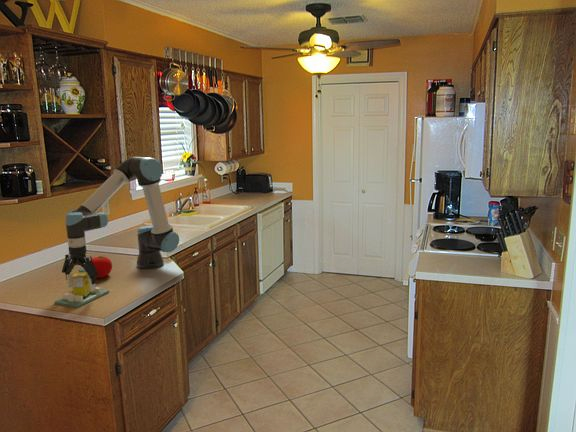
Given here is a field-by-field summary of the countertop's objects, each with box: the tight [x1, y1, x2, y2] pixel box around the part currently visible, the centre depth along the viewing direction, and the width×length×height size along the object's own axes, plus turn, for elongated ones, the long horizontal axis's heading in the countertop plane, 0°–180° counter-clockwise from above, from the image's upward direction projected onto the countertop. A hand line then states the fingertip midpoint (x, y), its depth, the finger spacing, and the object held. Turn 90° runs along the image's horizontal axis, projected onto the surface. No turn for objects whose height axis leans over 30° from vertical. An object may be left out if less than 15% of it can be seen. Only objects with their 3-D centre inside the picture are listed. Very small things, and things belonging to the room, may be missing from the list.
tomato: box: [92, 255, 113, 279], centre depth 252 cm, size 12×14×12 cm
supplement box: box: [71, 271, 91, 298], centre depth 222 cm, size 6×6×11 cm
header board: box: [54, 286, 110, 309], centre depth 223 cm, size 20×14×5 cm
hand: (81, 288), depth 223 cm, fingers open, 13 cm apart
